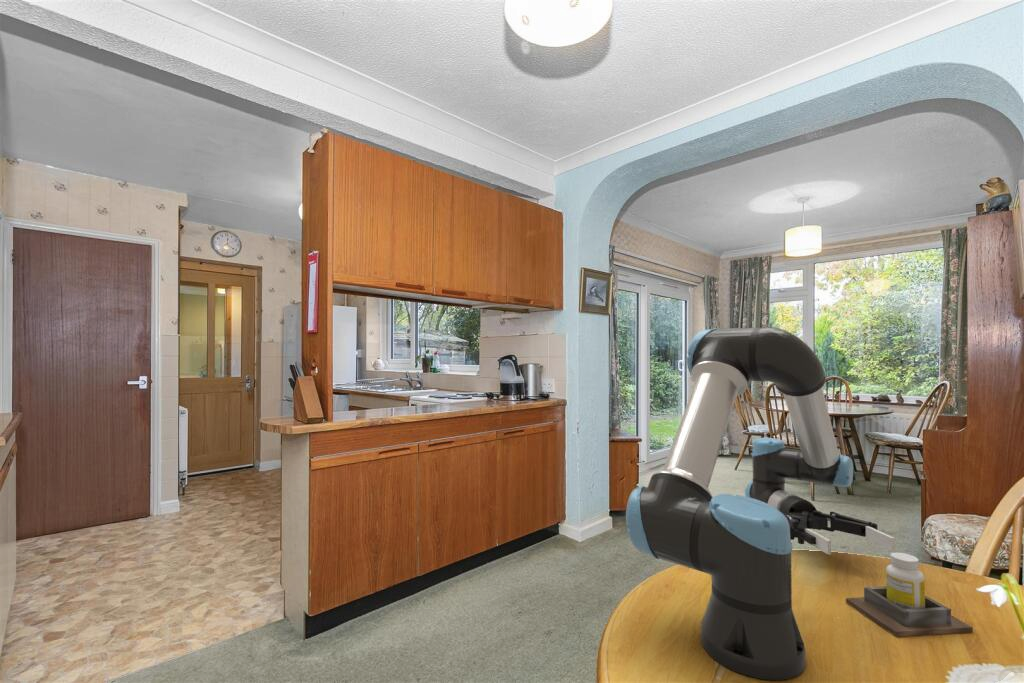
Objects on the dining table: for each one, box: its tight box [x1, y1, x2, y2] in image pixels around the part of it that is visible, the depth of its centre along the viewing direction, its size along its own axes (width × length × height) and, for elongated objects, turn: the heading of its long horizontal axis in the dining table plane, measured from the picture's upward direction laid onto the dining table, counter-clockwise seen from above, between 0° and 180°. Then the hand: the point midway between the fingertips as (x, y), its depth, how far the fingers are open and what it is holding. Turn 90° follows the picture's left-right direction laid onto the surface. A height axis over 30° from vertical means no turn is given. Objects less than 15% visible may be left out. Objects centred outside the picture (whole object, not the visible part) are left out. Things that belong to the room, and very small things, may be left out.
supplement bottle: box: [885, 552, 926, 609], centre depth 88 cm, size 5×5×10 cm
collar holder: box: [845, 585, 974, 638], centre depth 88 cm, size 14×11×3 cm
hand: (861, 546), depth 98 cm, fingers open, 13 cm apart
